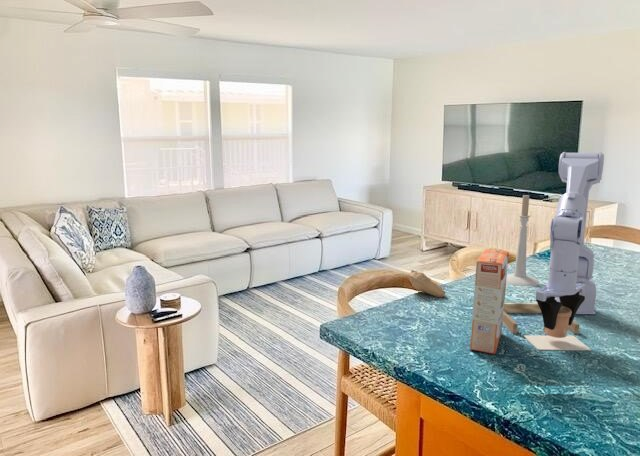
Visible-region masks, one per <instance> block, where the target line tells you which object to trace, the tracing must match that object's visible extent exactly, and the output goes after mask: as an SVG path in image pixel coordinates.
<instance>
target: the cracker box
mask: <svg viewBox="0 0 640 456" xmlns="http://www.w3.org/2000/svg"><path fill="white" fill-rule="evenodd" d="M509 254H510V253H509V251H507V250H498V249H497V250H496V249H487V248H486V249H484V250H483V251H482V252H481V254H480V255H479V257H478V259H477V260H476V263H475V264H476V265H475V277H474V279H475V280H474V291H473V304H472V314H471V315H472V316H471V317H472V318H471V331H470V332H471V333H470V343H469V346H470V347H469V349H470V350H471V351H477V352H482V353H486V354H491V355H496V353H497V351H498V350H497V349H498V346H499V343H500V340H501V336H502V332H503V323H502V322H503V312H504V303H505V300H506V291H507V290H506V288H507V283H506V279H507V275H508V263H509Z"/></svg>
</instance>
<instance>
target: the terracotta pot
mask: <svg viewBox="0 0 640 456" xmlns="http://www.w3.org/2000/svg"><path fill="white" fill-rule="evenodd" d="M571 314H572V311H571V309H569V308H567V307H565V306H561V308H560V310H559V312H558V315H557V319H556V325H555V328H554V329H553V330H551V329H548V328H546V327H544V326H543V329H542V331H543V333H544V334H545V335H546V336H552V337H556V338H564V337H566V336H568V331H569V330H568V324H569V317H571Z"/></svg>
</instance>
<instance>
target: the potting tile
mask: <svg viewBox="0 0 640 456" xmlns="http://www.w3.org/2000/svg"><path fill="white" fill-rule="evenodd" d="M523 337H524V338H525V339H526V340H527V341H528V342H529V344H531V345H532V346H533V347H534V348H535V349H536V350H537V351H592V349H591V348H590V347H588V346H587V345H586V344H585V343H583V342H582V341H581V340H579V338H577V337H575V335H567V336H566V337H564V338H556V337H552V336H549V335H531V334H529V335H528V334H527V335H523Z"/></svg>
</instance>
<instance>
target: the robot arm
mask: <svg viewBox="0 0 640 456" xmlns="http://www.w3.org/2000/svg"><path fill="white" fill-rule="evenodd" d="M604 162H605V154H604V153H603V151H602V152H566V151H563V152H562V153H560V156H559V161H558V175H559V178H560V179H561V182H562V183H566V191H565V193H564V194H562V195H561V196H559V199H558V203H557V207H556V214H555V218H552V219H551V221H550V226H549V227H550V228H549V239H550V240H549V242H550V243H549V249H550V257H549V266H548V267H549V269H548V277H547V278H548V280H547V283H544V284H543V287H542V288H541V289H539V290H536V291H535V292H536V293H535V301H536V303H538V305H539V307H540V310H541V312H542V313H541V316H542V321H543V328H544V327H546V328H548V329H551V330H553V329H554V328H555V325H556V319H557V315H558V312H559V310H560V308H561V306H565V307H567V308H569V309H571V311H572V314H571V317H569V324H568V325H571V324H572V322H573V320H574V318H575V316H576V315H596V313H597V312H596V311H595V306H596V298H597V287H596V283H595V282H594V280H592V279H593V273H594V265H595V260H594V258H595V254H594V250H592V249H591V248H589V247H588V246H587V245H586V244H584V243H585V233H586V224H587V214H588V205H589V194H590V190H591V188H592V186H593V185H597V184H600V183H601V181H602V177H603V171H604V164H605V163H604Z"/></svg>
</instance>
